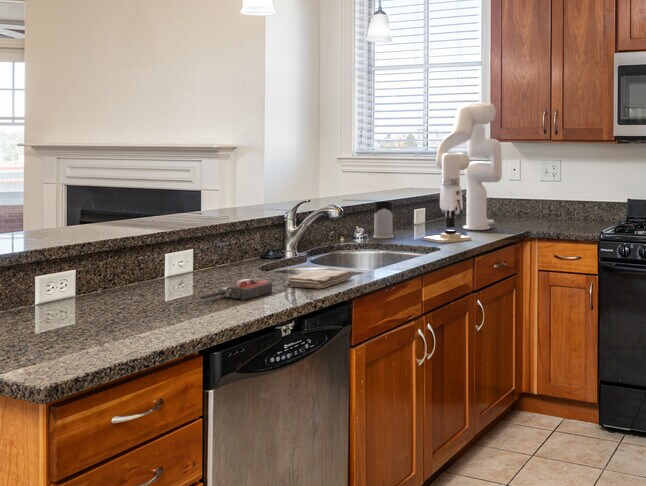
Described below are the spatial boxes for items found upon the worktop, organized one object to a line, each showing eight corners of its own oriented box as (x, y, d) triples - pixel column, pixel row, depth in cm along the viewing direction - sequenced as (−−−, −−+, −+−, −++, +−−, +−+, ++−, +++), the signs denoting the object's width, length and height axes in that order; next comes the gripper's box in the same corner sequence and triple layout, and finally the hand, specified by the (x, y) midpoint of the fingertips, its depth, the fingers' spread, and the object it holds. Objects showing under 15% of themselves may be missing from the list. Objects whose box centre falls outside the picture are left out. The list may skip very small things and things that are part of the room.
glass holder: (373, 238, 315) (373, 203, 315) (371, 234, 329) (371, 200, 329) (394, 238, 317) (394, 203, 317) (391, 234, 331) (391, 200, 331)
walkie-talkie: (252, 288, 209) (197, 302, 191) (252, 273, 209) (197, 285, 191) (277, 292, 205) (223, 306, 187) (277, 276, 204) (223, 288, 187)
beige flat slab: (452, 237, 321) (452, 230, 321) (471, 240, 312) (471, 232, 312) (423, 240, 311) (423, 233, 311) (441, 243, 302) (441, 236, 302)
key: (451, 233, 312) (451, 229, 312) (455, 234, 309) (455, 230, 309) (445, 234, 310) (445, 230, 310) (450, 235, 307) (450, 230, 307)
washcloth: (284, 286, 212) (284, 276, 212) (319, 276, 228) (319, 266, 228) (319, 290, 207) (319, 279, 207) (352, 279, 223) (352, 269, 223)
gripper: (469, 183, 306) (469, 228, 306) (446, 182, 318) (445, 225, 318) (455, 184, 301) (455, 229, 301) (432, 182, 313) (432, 226, 313)
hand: (450, 227), depth 309 cm, fingers closed
